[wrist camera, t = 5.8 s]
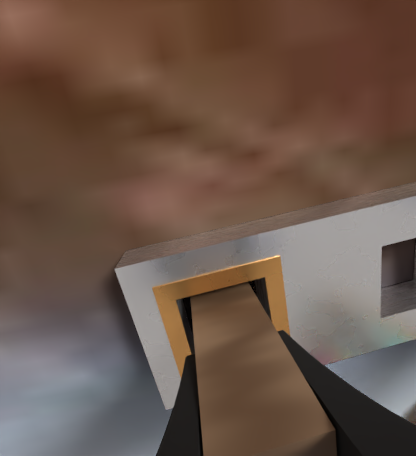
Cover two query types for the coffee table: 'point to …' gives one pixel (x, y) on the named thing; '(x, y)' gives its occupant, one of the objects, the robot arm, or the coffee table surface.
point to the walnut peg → (252, 383)
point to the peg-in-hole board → (281, 280)
